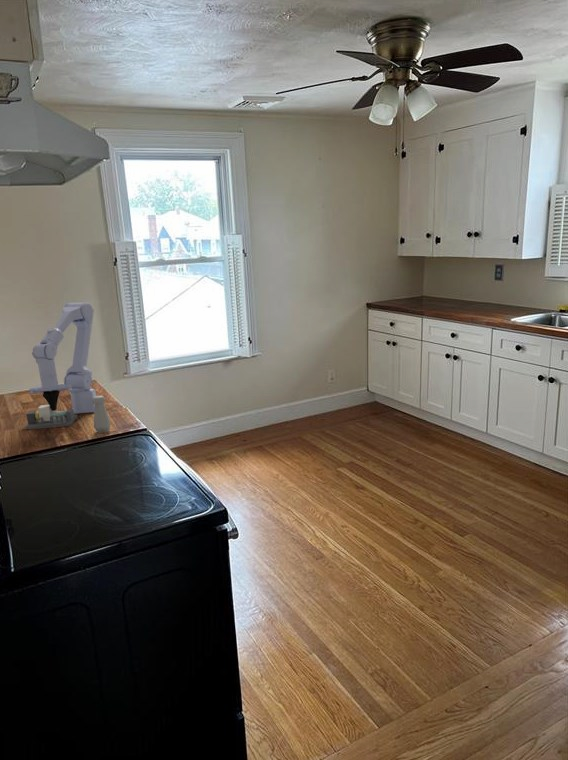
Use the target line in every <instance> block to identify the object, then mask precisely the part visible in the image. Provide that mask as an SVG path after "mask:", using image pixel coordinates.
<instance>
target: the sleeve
mask: <svg viewBox="0 0 568 760" xmlns="http://www.w3.org/2000/svg"><path fill="white" fill-rule="evenodd" d="M37 411H38V412H39V418H41V417H43V420H44V422H45V421H50V416H51V414H50V412H54V411H52V410H51V408H50V405H49V404H42V405H39V406H38V408H37ZM53 419H54V417H53ZM40 422H41V420H40Z"/></svg>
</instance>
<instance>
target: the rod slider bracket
mask: <svg viewBox="0 0 568 760" xmlns="http://www.w3.org/2000/svg"><path fill="white" fill-rule="evenodd" d="M36 411H38V409H35V410H29V411H28V412H27V413H26V418H27V425H26V426H25V429H26V430H27V429H28V430H36V429H37V430H39V429H47V428H48V429H49V428H58V427H60V428H61V427H69V426H72V425H73V424H74V422H75V421H76V420H77V419H78V414H74V411H73V408H68V409H67V410H59V411H57V410H55V411H53V412H50V414H51V416H50V421H45V422H44V420H43V417H41V418H40V420H41V422H40V421H37V420H36V417H35V413H36ZM53 417H54V419H53ZM76 418H77V419H76Z"/></svg>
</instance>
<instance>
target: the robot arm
mask: <svg viewBox="0 0 568 760" xmlns="http://www.w3.org/2000/svg"><path fill="white" fill-rule="evenodd" d="M61 311H62V314H61V316H60V317H59V319H58V320H57V323H56V325H55V326H54V328H50V329H47V331H46V332H47V333H45V336H44V337H43V339H42V340H41V341H40V342H39V343H36V344H35V345H34V346H33V348H32V352H31V354H32V357H33V358H34V359H35V362H36V364H37V366H38V372H39V377H40V378H39V379H40V383H41V384H40V386H36V387H30V388H29V394H30V395H33V394H39V393H42V398H44V400H45V401H46V403H48V404H47V405H50V408H51V410H52V411H53V412H56V411H57V409H58V408H57V406H58V400H59V395H60V393H61V392H62V391H63V392H64V391H68V392H69V394H70V399H71V405H72V409H73V411H74V415H78V414H86V413H94V407H95V404H93V403H92V398H93V397H95V396H97V392H96V389H95V388H91V387H92V385H93V378H92V375H93V372H92V371H91V369H89V368H88V367H87V366H88V359H89V350H90V349H89V348H90V342H91V334H92V328H93V327H92V326H93V319H94V309H93V306H92V305H91V303H90V302H87V301H84V302H66V303H65V305H64V306H63V307H62V310H61ZM71 324H73V325H75V326H76V335H75V343H74V351H73V357H72V365H71V366H70V367H69V368H67V370H66V372H65V373H66V374H65V375H64V378H63V384H59V381H58V375H57V369H56V363H55V357H57V353H58V346H59V345H60V344H61V342H62V341H63V339H64V332H65V331H66V330H67V329H68V327H69V326H70V325H71Z"/></svg>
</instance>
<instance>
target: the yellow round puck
mask: <svg viewBox="0 0 568 760" xmlns="http://www.w3.org/2000/svg"><path fill="white" fill-rule="evenodd" d="M35 417H36V420H37V421H40V418H39V412H38V410H37V411H36V413H35Z"/></svg>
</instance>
